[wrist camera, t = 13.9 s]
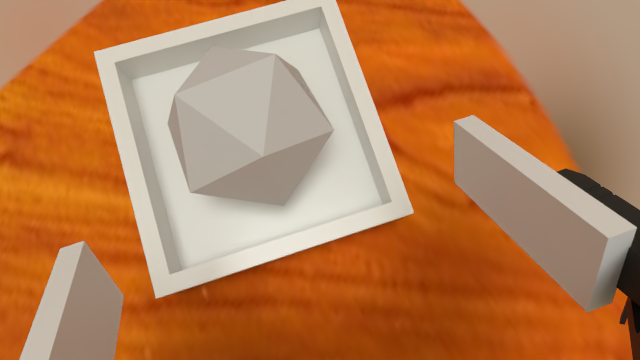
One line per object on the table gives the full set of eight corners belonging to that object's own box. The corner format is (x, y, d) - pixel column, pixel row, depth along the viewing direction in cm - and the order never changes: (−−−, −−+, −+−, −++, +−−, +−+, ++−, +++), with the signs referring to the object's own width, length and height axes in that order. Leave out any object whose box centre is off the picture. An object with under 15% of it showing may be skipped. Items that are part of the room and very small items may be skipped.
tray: (175, 293, 26) (156, 298, 22) (118, 77, 28) (93, 51, 25) (399, 218, 27) (414, 212, 24) (327, 19, 30) (331, -12, 26)
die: (310, 224, 27) (384, 113, 20) (173, 248, 22) (211, 112, 15) (266, 133, 31) (315, 16, 24) (142, 136, 26) (162, -9, 19)
